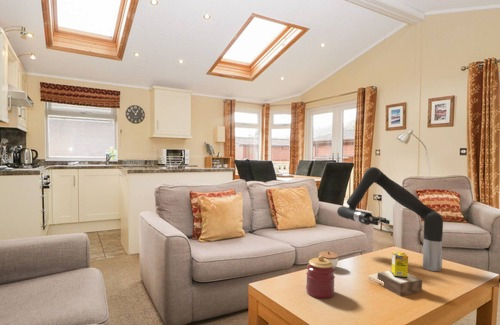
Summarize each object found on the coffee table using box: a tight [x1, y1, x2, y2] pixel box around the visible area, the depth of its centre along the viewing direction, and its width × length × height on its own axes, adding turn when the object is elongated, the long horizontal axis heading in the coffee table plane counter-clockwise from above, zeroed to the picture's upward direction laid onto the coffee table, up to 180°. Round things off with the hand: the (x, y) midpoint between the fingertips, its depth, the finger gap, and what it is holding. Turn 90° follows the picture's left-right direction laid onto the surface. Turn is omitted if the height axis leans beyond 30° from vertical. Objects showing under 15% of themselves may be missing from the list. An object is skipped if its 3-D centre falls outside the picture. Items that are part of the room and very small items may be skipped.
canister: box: [305, 255, 336, 300], centre depth 140 cm, size 13×13×18 cm
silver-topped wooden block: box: [377, 270, 423, 297], centre depth 148 cm, size 14×14×6 cm
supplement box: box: [390, 251, 409, 278], centre depth 148 cm, size 6×6×11 cm
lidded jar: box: [318, 251, 339, 268], centre depth 172 cm, size 11×11×9 cm
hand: (383, 222), depth 170 cm, fingers open, 8 cm apart
